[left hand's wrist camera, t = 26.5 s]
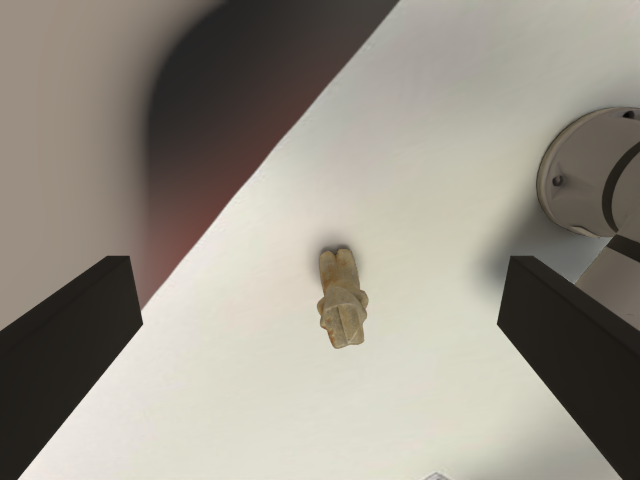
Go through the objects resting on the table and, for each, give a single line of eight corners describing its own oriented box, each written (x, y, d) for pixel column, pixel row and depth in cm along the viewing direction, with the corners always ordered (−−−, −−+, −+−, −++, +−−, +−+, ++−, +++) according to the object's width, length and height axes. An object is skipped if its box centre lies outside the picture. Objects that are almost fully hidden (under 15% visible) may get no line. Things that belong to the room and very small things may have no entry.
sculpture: (357, 243, 48) (372, 300, 34) (363, 290, 50) (379, 362, 36) (313, 249, 48) (310, 308, 34) (321, 296, 50) (322, 370, 36)
